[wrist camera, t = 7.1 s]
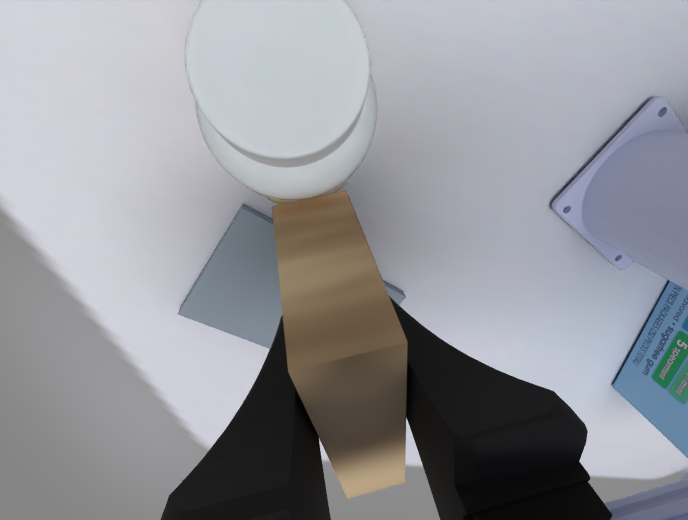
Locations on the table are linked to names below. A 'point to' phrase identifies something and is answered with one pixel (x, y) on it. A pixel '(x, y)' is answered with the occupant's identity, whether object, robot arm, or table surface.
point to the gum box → (661, 368)
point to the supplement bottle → (282, 93)
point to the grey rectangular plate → (244, 282)
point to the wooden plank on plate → (343, 341)
